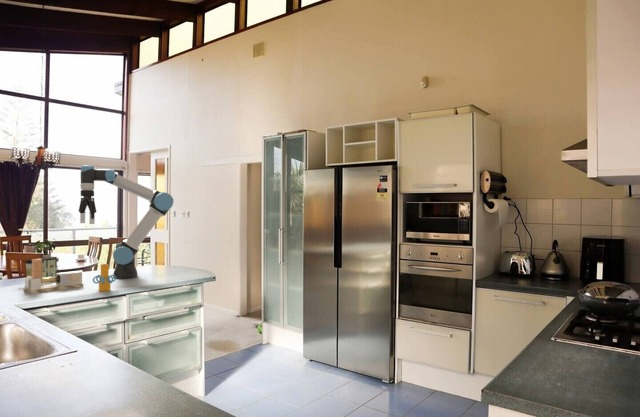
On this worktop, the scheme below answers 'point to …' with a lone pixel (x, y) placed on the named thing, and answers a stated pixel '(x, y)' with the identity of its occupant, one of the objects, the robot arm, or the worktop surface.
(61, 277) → the pale grey block
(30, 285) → the end socket
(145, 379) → the worktop surface
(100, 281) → the orange post with rings
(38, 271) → the pink l-shaped block
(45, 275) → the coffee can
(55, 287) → the birch board
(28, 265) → the olive storage canister
